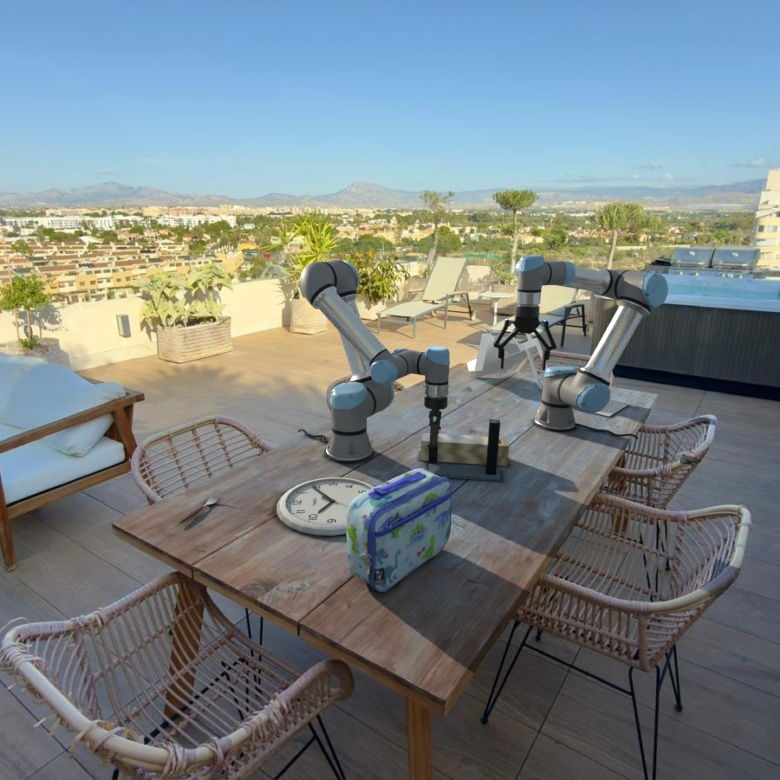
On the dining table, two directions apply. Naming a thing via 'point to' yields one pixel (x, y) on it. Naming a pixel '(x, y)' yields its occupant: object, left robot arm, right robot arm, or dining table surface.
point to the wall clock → (320, 505)
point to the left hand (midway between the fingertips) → (433, 456)
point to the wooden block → (464, 449)
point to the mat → (463, 472)
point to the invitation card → (611, 408)
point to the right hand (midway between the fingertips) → (522, 368)
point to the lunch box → (398, 527)
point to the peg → (492, 446)
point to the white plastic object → (513, 354)
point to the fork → (209, 502)
